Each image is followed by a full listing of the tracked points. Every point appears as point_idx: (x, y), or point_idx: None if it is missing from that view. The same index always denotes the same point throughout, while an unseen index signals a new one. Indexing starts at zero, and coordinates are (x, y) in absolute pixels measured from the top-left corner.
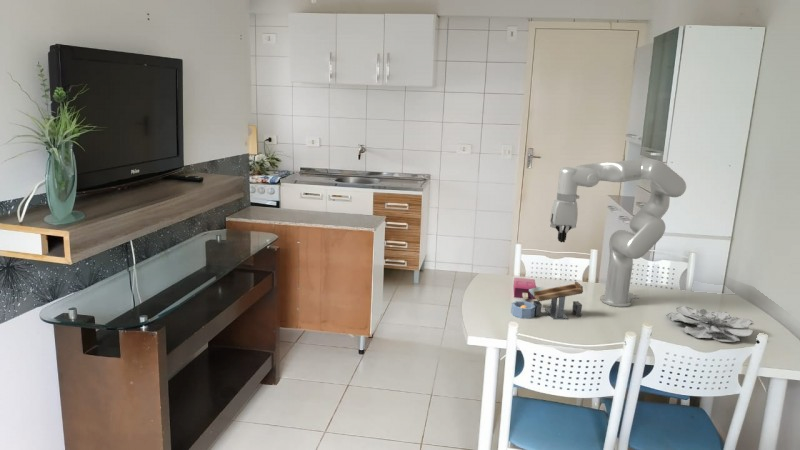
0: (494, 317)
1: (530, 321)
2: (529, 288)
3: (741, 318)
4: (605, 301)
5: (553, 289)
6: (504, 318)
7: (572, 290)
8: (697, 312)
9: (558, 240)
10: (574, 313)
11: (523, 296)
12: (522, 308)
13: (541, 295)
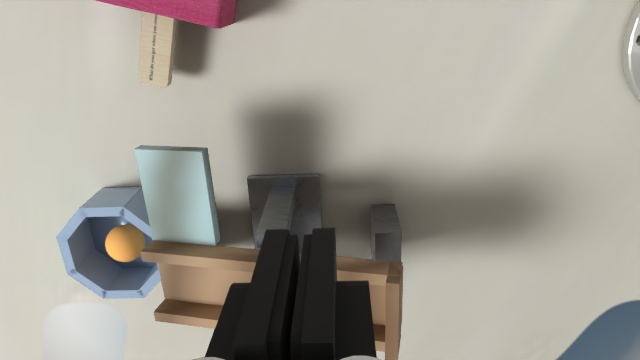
0: (11, 266)
1: (157, 297)
2: (175, 7)
3: None
4: (630, 74)
5: (249, 268)
6: (52, 274)
7: None
8: None
9: (268, 234)
10: (371, 233)
11: (141, 78)
12: (104, 294)
13: (170, 317)
